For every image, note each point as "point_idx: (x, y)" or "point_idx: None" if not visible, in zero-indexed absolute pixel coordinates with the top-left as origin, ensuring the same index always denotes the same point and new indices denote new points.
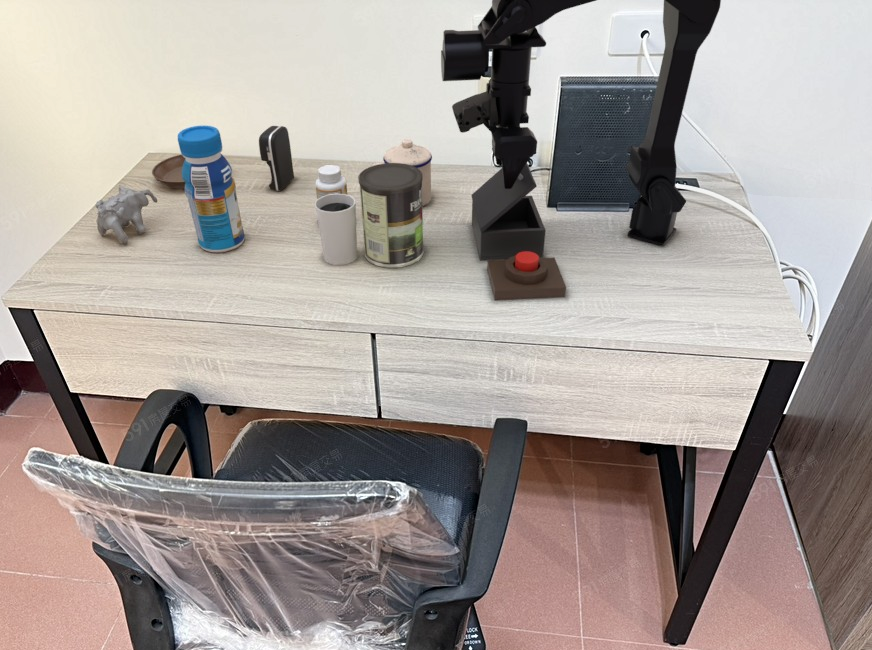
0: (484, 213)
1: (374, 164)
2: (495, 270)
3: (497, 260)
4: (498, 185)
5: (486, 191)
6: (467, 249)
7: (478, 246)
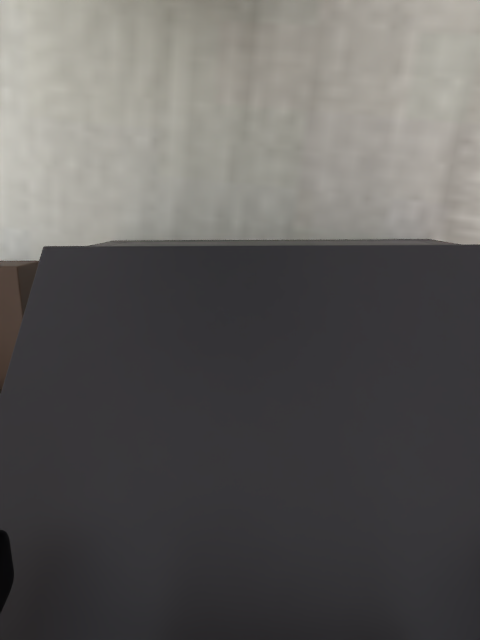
0: (161, 294)
1: None
2: None
3: (16, 309)
4: (364, 452)
5: (412, 346)
6: (214, 197)
7: (166, 242)
